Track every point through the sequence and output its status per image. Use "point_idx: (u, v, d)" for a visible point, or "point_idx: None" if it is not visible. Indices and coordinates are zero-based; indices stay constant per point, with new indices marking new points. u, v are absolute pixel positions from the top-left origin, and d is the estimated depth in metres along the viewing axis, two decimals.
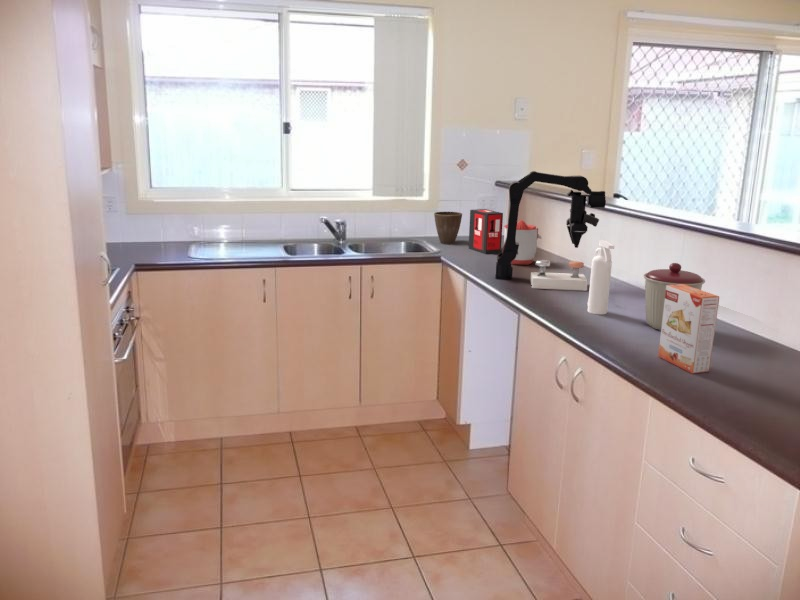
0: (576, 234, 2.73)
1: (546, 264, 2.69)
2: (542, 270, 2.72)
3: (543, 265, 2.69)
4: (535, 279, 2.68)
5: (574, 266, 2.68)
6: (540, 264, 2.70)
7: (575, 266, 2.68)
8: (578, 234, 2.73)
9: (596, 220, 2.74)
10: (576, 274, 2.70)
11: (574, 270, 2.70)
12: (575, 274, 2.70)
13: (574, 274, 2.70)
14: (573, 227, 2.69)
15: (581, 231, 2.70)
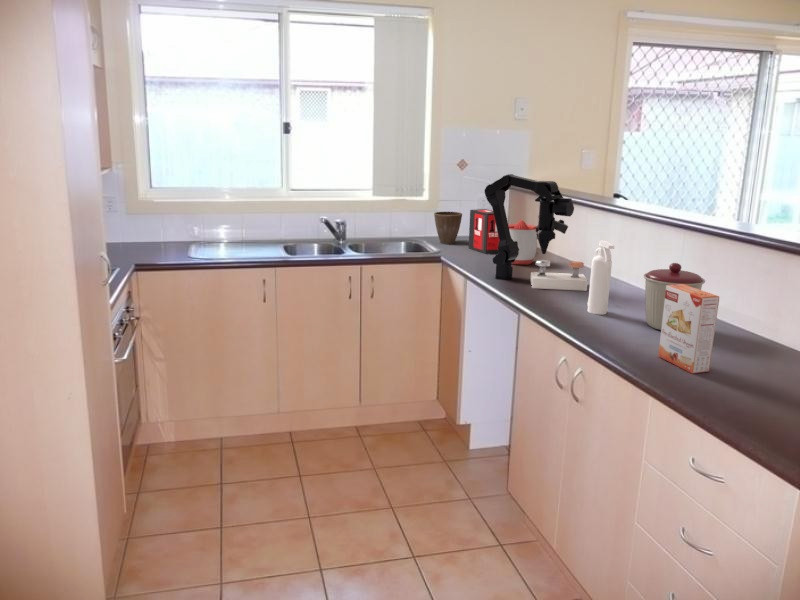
0: (543, 240, 2.67)
1: (546, 264, 2.69)
2: (542, 270, 2.72)
3: (543, 265, 2.69)
4: (535, 279, 2.68)
5: (574, 266, 2.68)
6: (540, 264, 2.70)
7: (575, 266, 2.68)
8: (545, 240, 2.67)
9: (565, 227, 2.65)
10: (576, 274, 2.70)
11: (574, 270, 2.70)
12: (575, 274, 2.70)
13: (574, 274, 2.70)
14: (540, 234, 2.60)
15: None
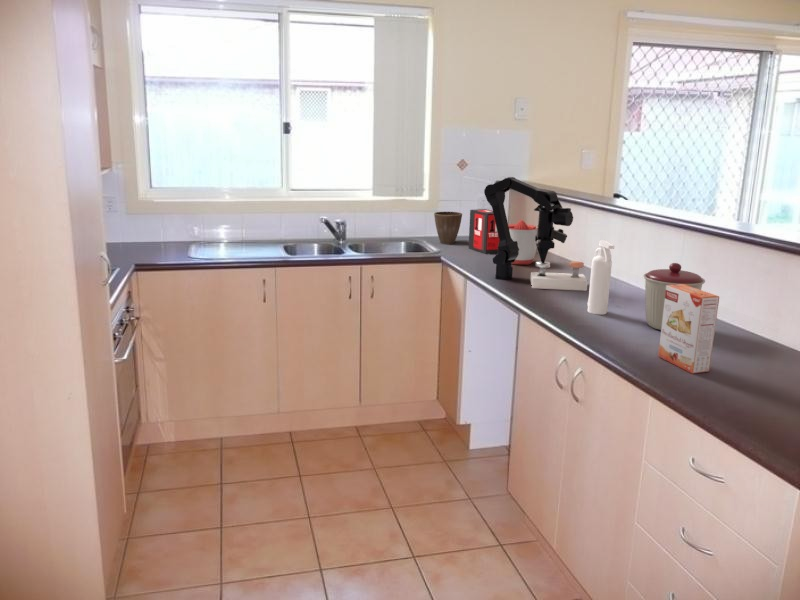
0: (542, 249, 2.69)
1: (546, 265, 2.70)
2: (542, 271, 2.72)
3: (543, 266, 2.69)
4: (535, 279, 2.68)
5: (574, 266, 2.68)
6: (540, 265, 2.70)
7: (575, 266, 2.68)
8: (544, 249, 2.69)
9: (564, 236, 2.66)
10: (576, 274, 2.70)
11: (574, 270, 2.70)
12: (575, 274, 2.70)
13: (574, 274, 2.70)
14: (540, 244, 2.61)
15: None
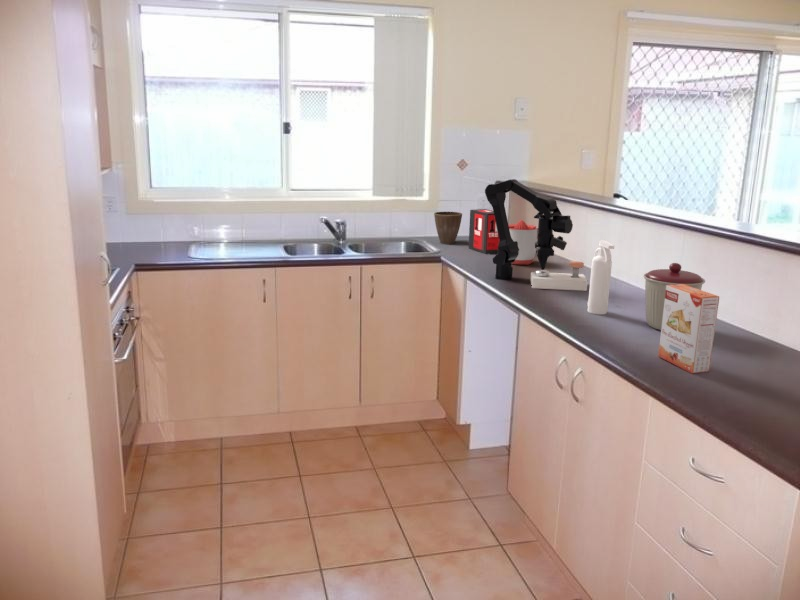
0: (542, 256, 2.70)
1: (545, 274, 2.70)
2: None
3: (542, 275, 2.70)
4: (535, 279, 2.68)
5: (574, 266, 2.68)
6: (539, 274, 2.71)
7: (575, 266, 2.68)
8: (544, 256, 2.70)
9: (564, 244, 2.67)
10: (576, 274, 2.70)
11: (574, 270, 2.70)
12: (575, 274, 2.70)
13: (574, 274, 2.70)
14: (539, 251, 2.62)
15: None
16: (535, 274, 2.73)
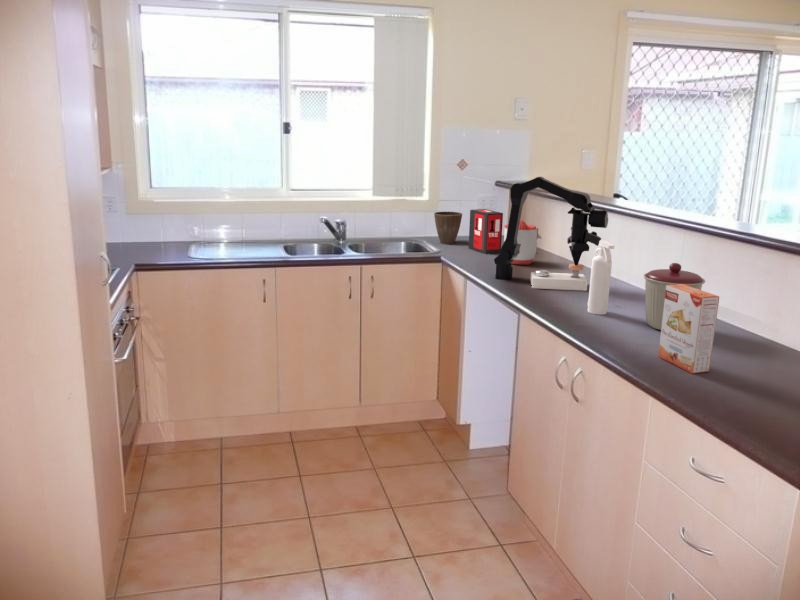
0: (576, 251, 2.68)
1: (545, 274, 2.70)
2: None
3: (542, 275, 2.70)
4: (535, 279, 2.68)
5: (574, 269, 2.68)
6: (539, 274, 2.71)
7: (575, 269, 2.68)
8: (578, 251, 2.68)
9: (598, 239, 2.65)
10: (576, 276, 2.71)
11: (574, 272, 2.70)
12: (575, 276, 2.71)
13: (574, 276, 2.71)
14: (574, 247, 2.60)
15: None
16: (535, 274, 2.73)
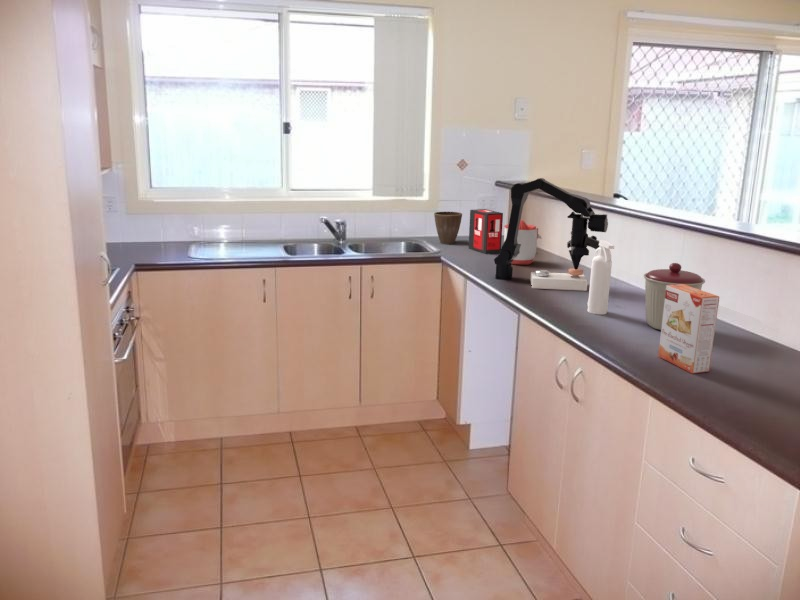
0: (576, 256, 2.68)
1: (545, 274, 2.70)
2: None
3: (542, 275, 2.70)
4: (535, 279, 2.68)
5: (573, 273, 2.69)
6: (539, 274, 2.71)
7: (574, 273, 2.69)
8: (578, 256, 2.68)
9: (598, 243, 2.65)
10: None
11: (573, 277, 2.71)
12: None
13: None
14: (574, 251, 2.60)
15: None
16: (535, 274, 2.73)
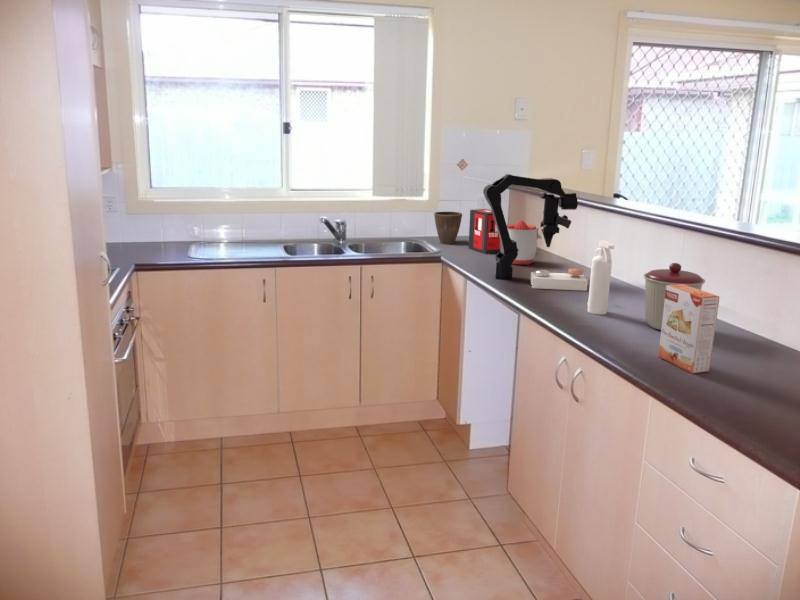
0: (548, 234, 2.82)
1: (545, 274, 2.70)
2: None
3: (542, 275, 2.70)
4: (535, 279, 2.68)
5: (573, 273, 2.69)
6: (539, 274, 2.71)
7: (574, 273, 2.69)
8: (550, 234, 2.82)
9: (568, 222, 2.79)
10: None
11: (573, 277, 2.71)
12: None
13: None
14: (545, 229, 2.74)
15: None
16: (535, 274, 2.73)
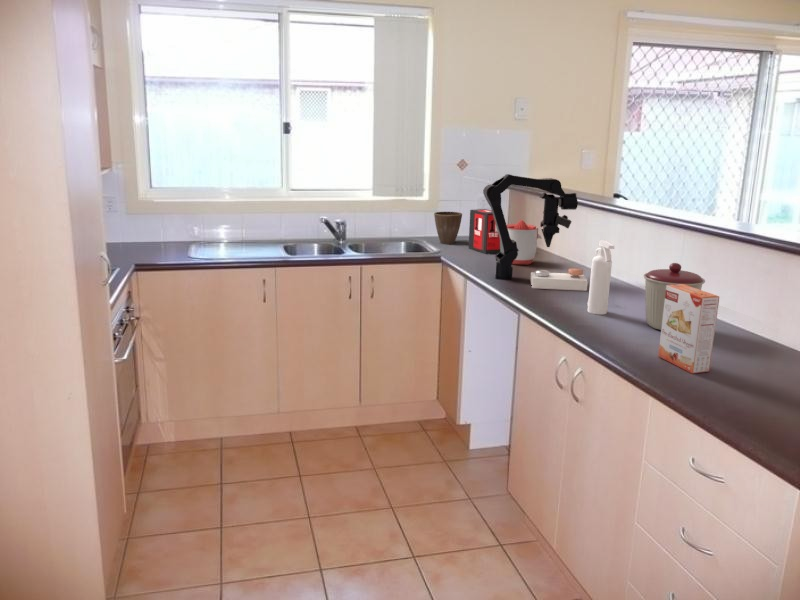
0: (548, 234, 2.82)
1: (545, 274, 2.70)
2: None
3: (542, 275, 2.70)
4: (535, 279, 2.68)
5: (573, 273, 2.69)
6: (539, 274, 2.71)
7: (574, 273, 2.69)
8: (550, 234, 2.82)
9: (568, 222, 2.79)
10: None
11: (573, 277, 2.71)
12: None
13: None
14: (545, 229, 2.74)
15: None
16: (535, 274, 2.73)
